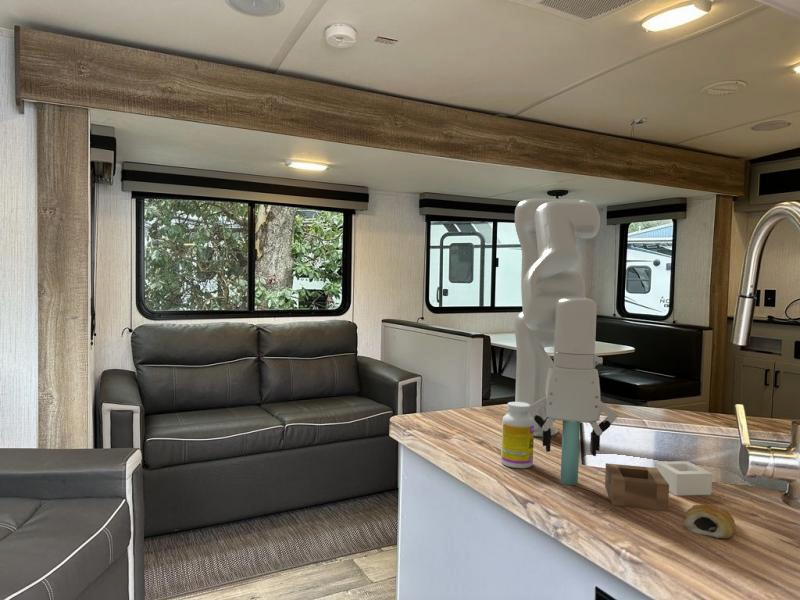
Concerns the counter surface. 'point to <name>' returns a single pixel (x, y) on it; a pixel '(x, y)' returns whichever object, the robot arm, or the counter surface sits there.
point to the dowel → (570, 452)
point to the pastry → (709, 521)
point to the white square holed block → (685, 478)
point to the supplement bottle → (517, 436)
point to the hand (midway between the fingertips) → (570, 451)
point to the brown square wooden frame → (636, 487)
